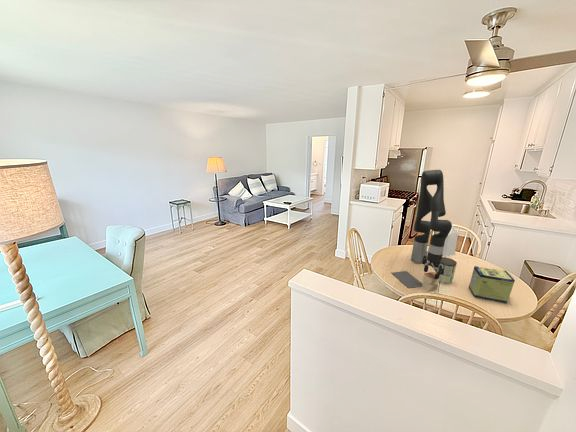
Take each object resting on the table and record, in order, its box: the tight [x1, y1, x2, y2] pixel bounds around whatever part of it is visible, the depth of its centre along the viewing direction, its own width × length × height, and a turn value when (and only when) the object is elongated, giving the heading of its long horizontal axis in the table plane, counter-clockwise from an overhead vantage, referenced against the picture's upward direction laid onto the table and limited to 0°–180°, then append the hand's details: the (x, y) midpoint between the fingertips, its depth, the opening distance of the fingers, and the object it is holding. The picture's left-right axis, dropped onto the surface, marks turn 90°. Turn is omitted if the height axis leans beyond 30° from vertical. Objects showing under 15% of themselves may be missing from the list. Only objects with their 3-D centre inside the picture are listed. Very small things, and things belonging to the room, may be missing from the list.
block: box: [422, 271, 440, 292], centre depth 138 cm, size 7×4×10 cm, turn 101°
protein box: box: [468, 265, 516, 304], centre depth 130 cm, size 10×16×16 cm
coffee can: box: [436, 256, 458, 285], centre depth 146 cm, size 10×10×14 cm
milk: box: [435, 223, 459, 258], centre depth 180 cm, size 12×12×26 cm
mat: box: [391, 270, 423, 289], centre depth 149 cm, size 12×18×1 cm, turn 10°
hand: (430, 275), depth 137 cm, fingers open, 8 cm apart
